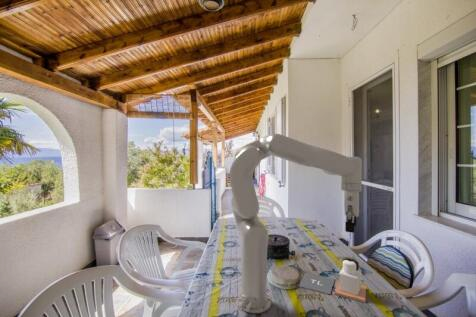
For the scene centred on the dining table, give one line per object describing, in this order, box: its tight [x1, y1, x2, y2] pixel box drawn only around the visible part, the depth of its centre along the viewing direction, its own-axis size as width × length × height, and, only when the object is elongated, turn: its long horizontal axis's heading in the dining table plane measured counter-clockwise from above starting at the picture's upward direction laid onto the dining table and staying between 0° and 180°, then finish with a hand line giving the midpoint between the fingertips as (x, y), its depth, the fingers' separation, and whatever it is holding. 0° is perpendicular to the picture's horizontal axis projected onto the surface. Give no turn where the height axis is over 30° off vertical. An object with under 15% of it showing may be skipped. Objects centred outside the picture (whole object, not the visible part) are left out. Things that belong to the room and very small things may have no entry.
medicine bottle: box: [338, 257, 362, 295], centre depth 100 cm, size 7×7×12 cm
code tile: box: [298, 272, 335, 296], centre depth 106 cm, size 13×13×1 cm
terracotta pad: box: [334, 279, 367, 303], centre depth 100 cm, size 11×11×1 cm
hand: (350, 228), depth 99 cm, fingers open, 9 cm apart
